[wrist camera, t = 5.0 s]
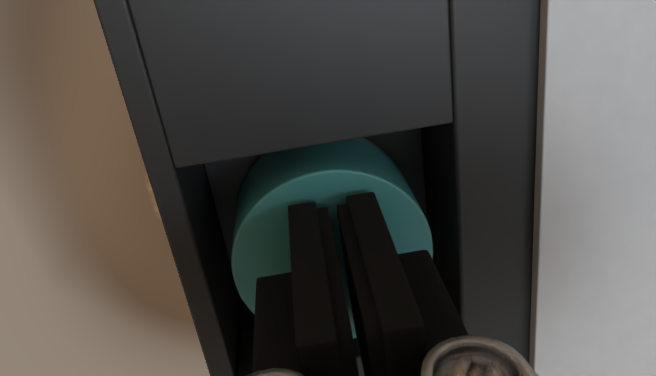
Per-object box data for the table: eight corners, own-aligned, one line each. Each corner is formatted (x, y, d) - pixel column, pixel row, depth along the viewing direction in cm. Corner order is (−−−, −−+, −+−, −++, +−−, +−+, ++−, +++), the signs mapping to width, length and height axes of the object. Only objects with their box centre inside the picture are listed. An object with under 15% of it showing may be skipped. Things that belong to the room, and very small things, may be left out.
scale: (248, 394, 16) (244, 500, 13) (126, -48, 11) (73, -38, 8) (777, 300, 17) (888, 383, 14) (907, -169, 11) (1136, -202, 8)
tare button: (255, 295, 14) (253, 357, 12) (219, 145, 12) (209, 189, 10) (414, 267, 14) (438, 325, 12) (401, 115, 12) (428, 153, 10)
